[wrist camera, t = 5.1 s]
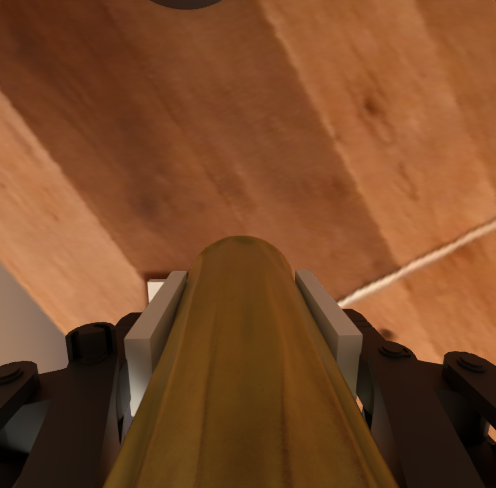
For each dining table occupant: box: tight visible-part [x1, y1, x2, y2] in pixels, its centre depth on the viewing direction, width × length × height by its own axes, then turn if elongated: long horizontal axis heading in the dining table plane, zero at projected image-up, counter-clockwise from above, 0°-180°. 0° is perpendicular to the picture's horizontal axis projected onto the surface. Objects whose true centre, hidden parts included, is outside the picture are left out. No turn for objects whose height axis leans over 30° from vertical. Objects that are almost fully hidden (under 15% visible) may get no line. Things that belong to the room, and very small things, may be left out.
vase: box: [102, 236, 400, 488], centre depth 10 cm, size 6×6×14 cm
